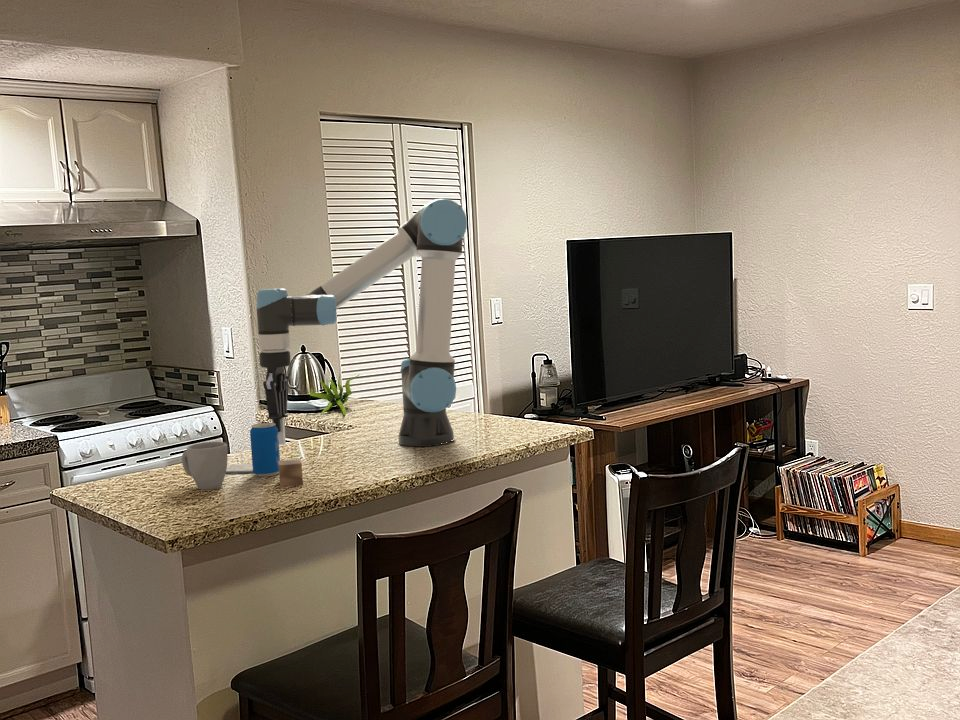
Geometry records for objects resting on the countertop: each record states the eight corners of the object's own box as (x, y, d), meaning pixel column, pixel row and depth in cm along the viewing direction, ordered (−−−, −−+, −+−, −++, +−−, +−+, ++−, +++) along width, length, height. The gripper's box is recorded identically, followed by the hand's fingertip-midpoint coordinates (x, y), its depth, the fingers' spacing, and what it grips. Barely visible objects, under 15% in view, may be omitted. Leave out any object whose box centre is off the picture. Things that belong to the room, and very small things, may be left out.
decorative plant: (295, 421, 301) (291, 376, 300) (332, 406, 329) (330, 365, 328) (345, 420, 296) (342, 375, 295) (379, 406, 325) (376, 364, 323)
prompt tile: (267, 465, 231) (267, 462, 230) (255, 473, 221) (255, 470, 221) (232, 466, 231) (232, 463, 231) (218, 474, 222) (218, 471, 222)
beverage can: (274, 477, 216) (270, 427, 215) (248, 477, 217) (244, 427, 216) (285, 471, 222) (281, 422, 221) (260, 471, 224) (256, 422, 222)
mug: (238, 483, 211) (235, 442, 210) (210, 492, 203) (207, 450, 202) (198, 480, 217) (195, 440, 216) (170, 489, 209) (167, 447, 208)
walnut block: (301, 480, 212) (300, 459, 211) (303, 485, 207) (301, 463, 207) (279, 482, 211) (278, 461, 210) (280, 487, 206) (278, 465, 205)
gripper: (268, 348, 236) (273, 439, 238) (251, 353, 223) (256, 449, 225) (296, 348, 235) (301, 439, 237) (281, 352, 222) (286, 449, 224)
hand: (279, 444), depth 231 cm, fingers closed
